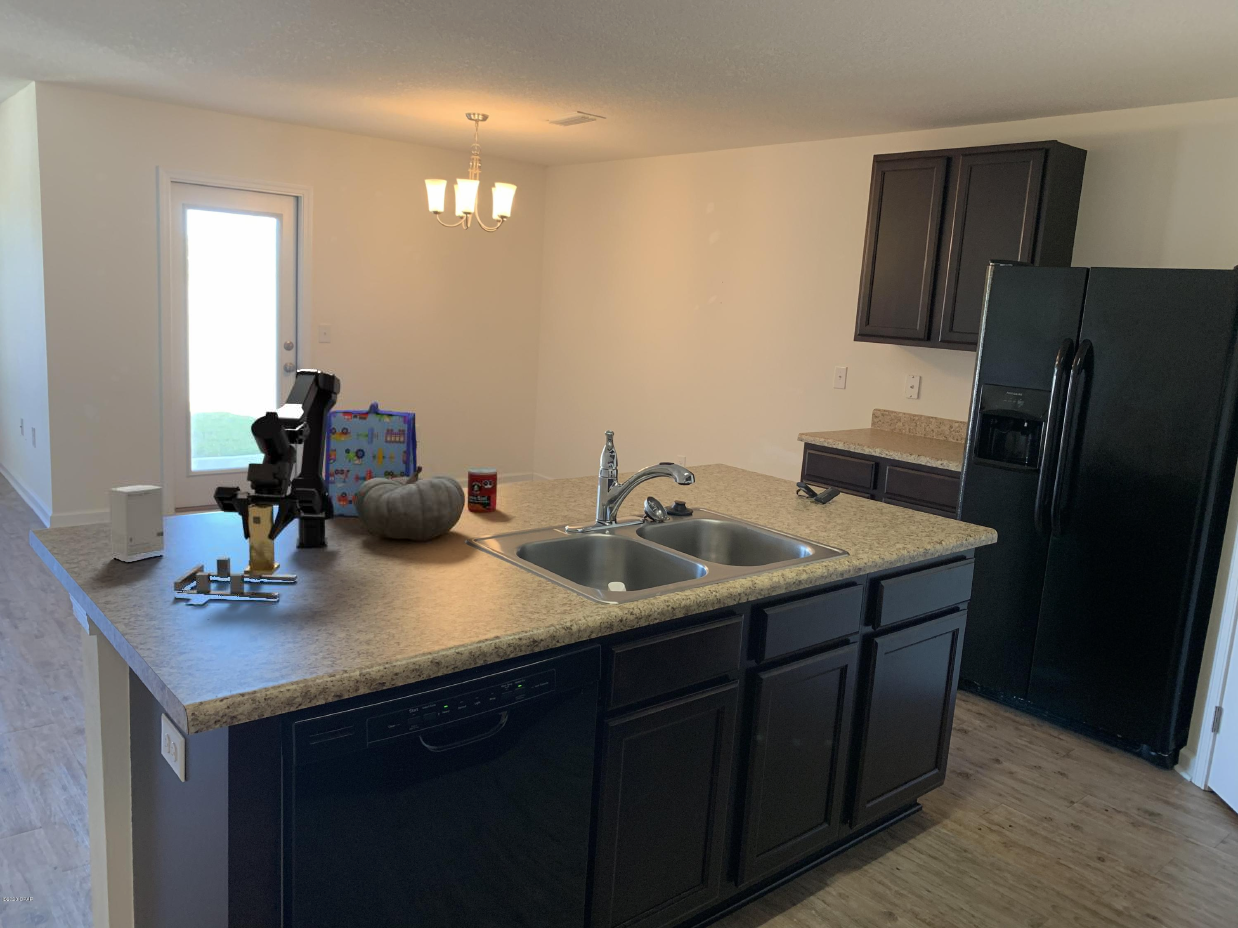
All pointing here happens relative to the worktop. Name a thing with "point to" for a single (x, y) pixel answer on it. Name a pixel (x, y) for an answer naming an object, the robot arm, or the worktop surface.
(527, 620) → the worktop surface
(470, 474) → the canned food
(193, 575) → the frame
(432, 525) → the gourd
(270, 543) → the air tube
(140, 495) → the skincare box
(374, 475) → the lunch bag
